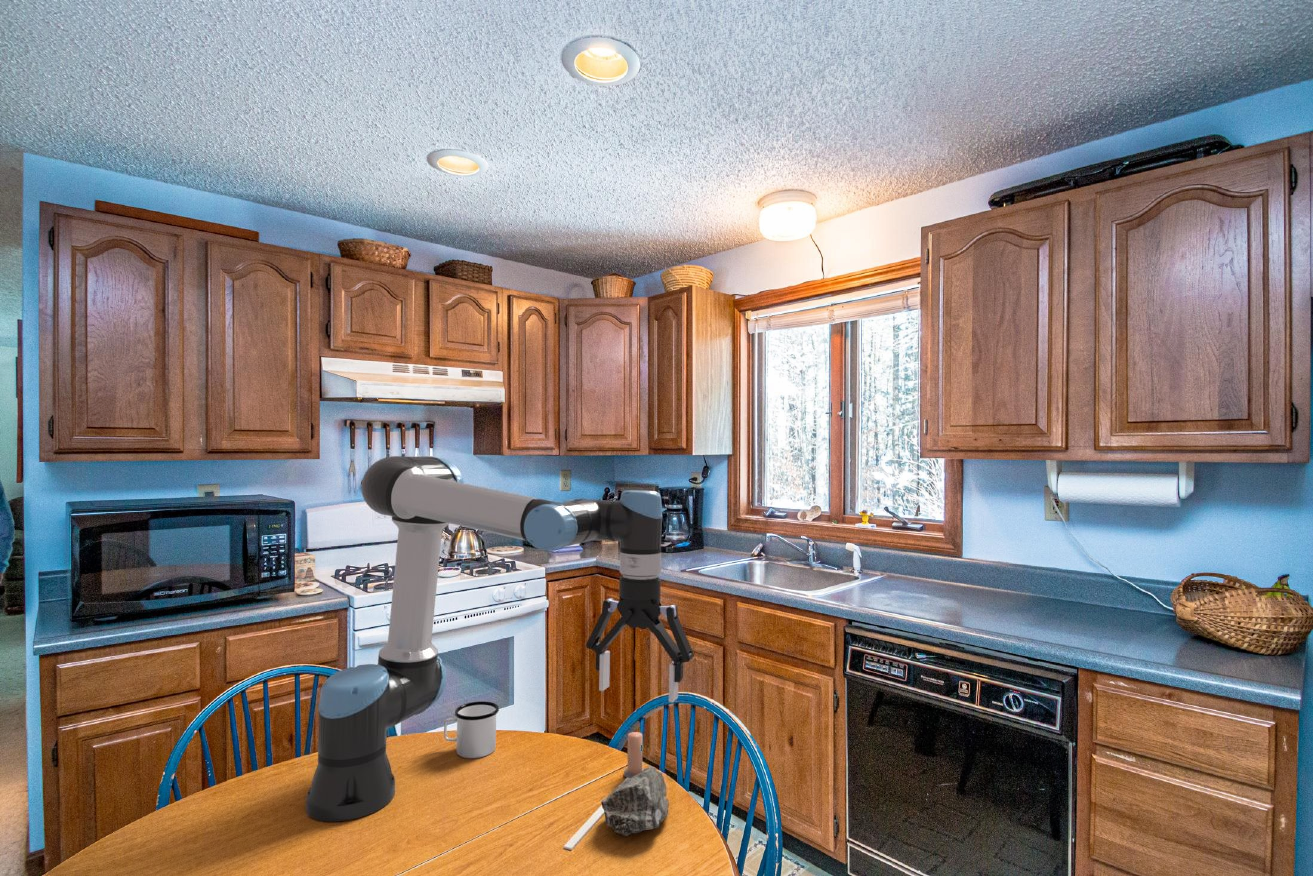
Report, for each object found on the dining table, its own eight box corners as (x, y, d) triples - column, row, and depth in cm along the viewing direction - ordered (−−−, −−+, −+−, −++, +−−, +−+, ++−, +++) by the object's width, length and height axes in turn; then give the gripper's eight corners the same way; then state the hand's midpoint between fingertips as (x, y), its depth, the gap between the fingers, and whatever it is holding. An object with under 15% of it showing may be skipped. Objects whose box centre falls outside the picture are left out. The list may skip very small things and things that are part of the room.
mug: (503, 742, 147) (504, 701, 147) (490, 761, 137) (491, 718, 138) (452, 740, 148) (453, 700, 148) (435, 759, 138) (436, 716, 139)
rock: (671, 835, 106) (633, 786, 107) (627, 871, 107) (589, 822, 107) (677, 782, 124) (644, 740, 125) (639, 813, 125) (606, 771, 126)
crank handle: (556, 846, 107) (556, 796, 107) (629, 768, 135) (629, 729, 135) (579, 852, 105) (580, 802, 106) (648, 772, 133) (649, 732, 133)
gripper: (569, 573, 119) (567, 690, 118) (699, 585, 109) (697, 712, 109) (588, 567, 126) (586, 678, 125) (712, 578, 116) (710, 697, 116)
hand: (638, 694), depth 117 cm, fingers open, 13 cm apart
